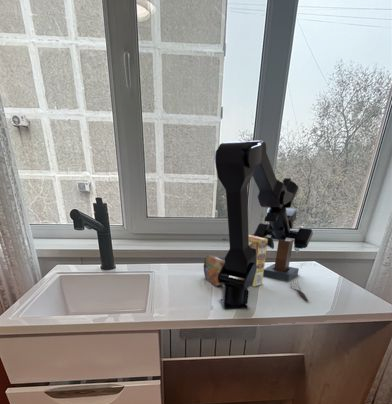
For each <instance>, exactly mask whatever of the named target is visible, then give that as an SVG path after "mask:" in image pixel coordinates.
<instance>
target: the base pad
mask: <svg viewBox="0 0 392 404" xmlns="http://www.w3.org/2000/svg"><path fill="white" fill-rule="evenodd" d="M274 267H275V263H273V264H271V265H269V266H267V267H266V268H265V267H264V273H263V277H265V278H268V279H269V278H271V279H275V280H279V281H283V282H291V281H292V280H294V278H295V277H297V276H298V275H299V271H300V268H298V267H293V266H289V268H288V271H287V272H283V271H277V270H274Z"/></svg>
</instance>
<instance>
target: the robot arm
mask: <svg viewBox="0 0 392 404" xmlns="http://www.w3.org/2000/svg"><path fill="white" fill-rule="evenodd" d="M214 152H215V153H214V156H213V157H214V164H215V168H216V169H215V170H216V176H217V179H218V180H219V182H220V183H221V185H222V187H223V188H224V190H225V198H226V199H225V200H226V213H227V228H228V241H229V249H228V251H227V253H226V254H225V256H224V261H225V263H224V265H223V267H222V269H221V271H220V273H219V275H218V283H223V285H222V295H221V297H222V298H220V302H221V304H222V306H223V308H224V309H225V310H234V309H236V310H237V309H239V310H240V309H241V310H242V309H248V305H247V304H248V303H249V294H250V290H249V289H248V288H250V287H253V286H252V285H253V281H254V278H255V274H256V270H257V264H256V263H257V261H256V249H254V248H250V246H249V236H248V235H249V198H248V196H249V195H248V186H249V184H250V181H251V180H252V179H253V180H254V182H255V184H256V186H257V189H258V194H257V200H258V203H259V206H260V207H261V208H266V214H265V217H264V222H268V223H264V222H260V223H258V225H257V226H256V228H255V230H254V232H253V236H257V237H261V238H266V239H268V241H267V247H268V248H269V249H271V250H274V248H275V241H274V240H276V241H279V240H283V241H285V240H286V239H291V240H293V248H294V251H295V252H296V254H298V253H299V251H300V249H306V248H308V246H309V244H310V241H311V239H312V237H313V235H314V234H313V233H314V232H313V229H312V228H310V227H309V228H308V227H299V228H298V231H296V230H292V229H293V228H294V223H295V221H296V220H297V209H296V208H291V207H292V204H293V202H294V200H295V198H296V196H297V194H298V191H299V186H298V184H297V183H296V182H294V181H292V179H291V178H290V177H288V178H287V177H285V178H283V180H282V181H281V180H279V179H277V177H276V174H275V172H274V168H273V166H272V163H271V160H270V159H269V156H268V153H267V143H266V142H265V141H263V140H246V141H227V142H226V141H225V142H221V143H220V144H219V145H218V147H217V149H216V150H215V151H214ZM237 278H243V279H244V280H240V279H237Z"/></svg>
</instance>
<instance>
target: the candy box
mask: <svg viewBox="0 0 392 404" xmlns="http://www.w3.org/2000/svg"><path fill="white" fill-rule="evenodd" d="M253 235H254V234H253ZM253 235H252V234H248V236H249V246H250V248H254V249H256V261H257V263H256V264H257V270H256V274H255V278H254V281H253V285H252V286H251V287H257V286H263V280H264V276H263V273H264V269H265V266H266V265H265V264H266V257H267V256H266V254H267V247H268V246H267V241H268V239H266V238H261V237H257V236H253ZM236 279H240V280H244V279H243V278H238V277H236Z"/></svg>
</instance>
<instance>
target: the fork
mask: <svg viewBox="0 0 392 404" xmlns="http://www.w3.org/2000/svg"><path fill="white" fill-rule="evenodd" d="M290 285H291V289H293V290H295V291H296V290H297V292H298V294H299V296H300V297H302V298H303V300H305V301H306V302H309V300H308V298H307V297H306V295H305V293H304V292H303V291H301V290H300V289H301V288H300V285H299V281H298V280H292V281H290Z"/></svg>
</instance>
